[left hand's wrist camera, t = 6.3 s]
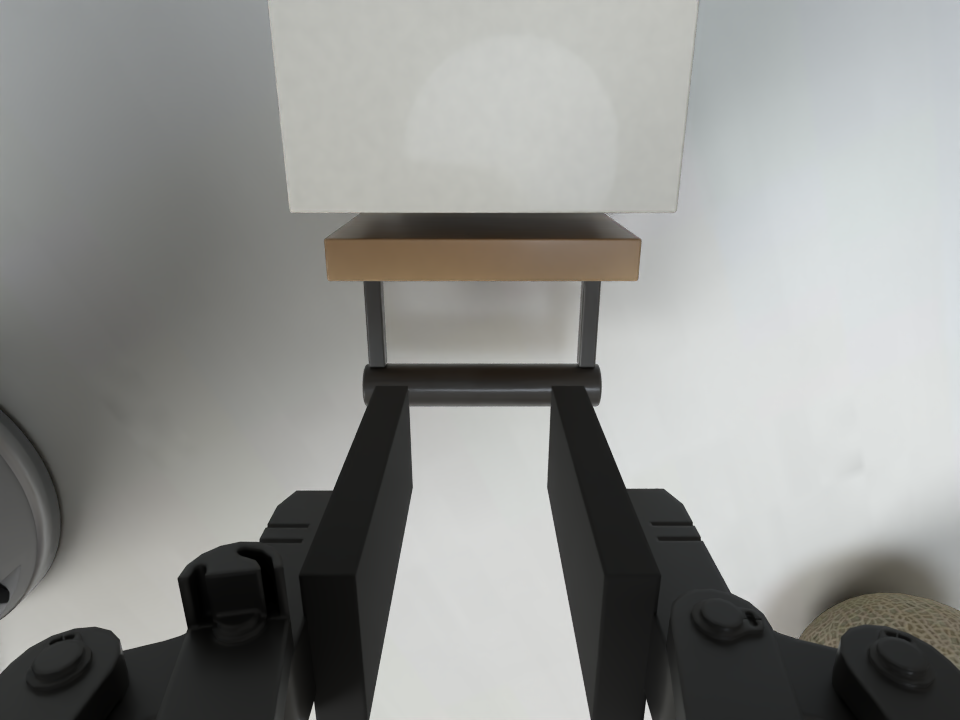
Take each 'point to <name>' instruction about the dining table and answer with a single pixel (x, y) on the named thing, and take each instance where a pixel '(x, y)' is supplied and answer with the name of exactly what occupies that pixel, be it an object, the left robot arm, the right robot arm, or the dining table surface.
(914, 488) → the dining table surface
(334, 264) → the drawer
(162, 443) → the dining table surface
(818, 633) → the fruit
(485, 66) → the cabinet
